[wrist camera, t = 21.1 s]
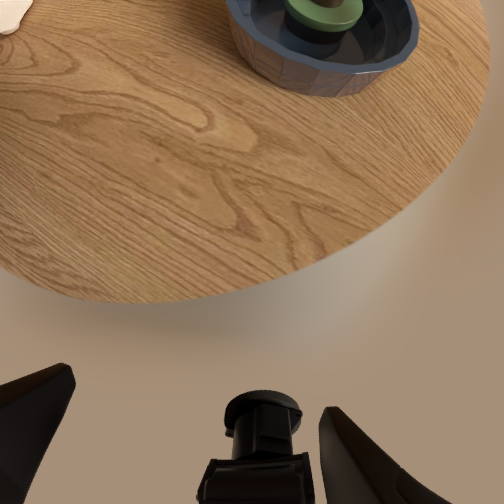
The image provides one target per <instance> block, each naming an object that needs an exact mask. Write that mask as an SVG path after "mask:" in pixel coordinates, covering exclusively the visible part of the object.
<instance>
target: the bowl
mask: <svg viewBox="0 0 504 504" xmlns="http://www.w3.org/2000/svg"><path fill="white" fill-rule="evenodd" d="M224 1H225V5H226V10H227V14H228V19H229V24H230V28H231V33H232V36H233V39H234V41H235V44H236V46H237V49H238V51H239V53H240V54H241V55H242V57H243V58H244V59H245V60H246V61H247V62H248V63H249V64H250V66H251V67H252V68H253V69H254V70H255V71H256V72H258V73H259V74H261V75H263V76H264V77H266V78H267V79H269V80H271V81H272V82H274V83H275V84H277V85H279V86H281V87H284V88H287V89H290V90H293V91H295V92H298V93H301V94H304V95H312V96H323V97H340V96H345V95H352V94H357V93H360V92H361V91H363V90H365V89H367V88H369V87H371V86H372V85H374V84H376V83H377V82H379V81H380V80H381V79H382V78H384V77H385V76H386V75H388V74H389V73H390V72H392V71H393V70H394V69H396V68H397V67H398V66H400V65H401V64H402V63H404V62H405V61H406V60H407V58H408V57H409V56H410V54H411V53H412V52H413V50H414V49H415V48H416V46H417V42H418V35H419V28H420V27H419V22H418V18H417V15H416V11H415V8H414V5H413V4H412V2H411V0H362V3H363V12H362V14H361V16H360V17H359V19H358V20H357V22H356V23H355V25H354V26H352V27H351V28H349V29H348V31H347V32H346V34H345V36H344V37H343V38H342V39H341V40H339V41H337V42H335V43H332V44H314V43H310V42H307V41H305V40H303V39H300V38H299V37H297V36H296V35H295V34H293V33H292V32H291V31H290V30H289V28H288V27H287V25H286V23H285V20H284V14H285V5H284V0H224Z"/></svg>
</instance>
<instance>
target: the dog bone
mask: <svg viewBox="0 0 504 504" xmlns="http://www.w3.org/2000/svg"><path fill="white" fill-rule="evenodd" d="M32 3H33V0H0V33H1V34H4V35H7V34H11V33H13V32H15V31H16V30H17V29H18V28H19V26H20V23H19V22H20V21H21V19H22V17H23V16H24V14H25V12H26V11H27V10H28V9H29V8H30V6H31V5H32Z"/></svg>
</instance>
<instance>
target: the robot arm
mask: <svg viewBox="0 0 504 504" xmlns="http://www.w3.org/2000/svg"><path fill="white" fill-rule="evenodd" d="M75 387H76V382H75V378H74V375H73V372H72V369H71V367H70V366H69V365H67V364H64V363H58V364H56V365H53V366H51V367H48V368H45V369H43V370H40V371H38V372H35V373H32V374H30V375H27V376H24V377H22V378H19V379H17V380H14V381H11V382H8V383H6V384H3V385H0V504H23V503H24V501H25V498H26V496H27V493H28V490H29V488H30V486H31V483H32V481H33V478H34V476H35V474H36V472H37V469H38V467H39V465H40V463H41V461H42V459H43V456H44V454H45V452H46V450H47V448H48V446H49V444H50V442H51V440H52V438H53V436H54V434H55V432H56V430H57V428H58V426H59V425H60V423H61V421H62V418H63V416H64V414H65V412H66V409H67V406H68V404H69V402H70V399H71V397H72V394H73V392H74V390H75ZM302 416H303V412H302V410H299V409H293V408H288V407H283V406H278V405H273V404H268V403H264V402H259V401H255V400H251V399H247V398H244V399H241V401H240V403H239V405H238V407H237V409H236V411H235V413H234V415H233V417H232V419H231V421H230V423H229V425H228V427H227V429H226V432H225V435H226V436H227V437H231V438H234V439H233V449H232V458H231V460H217V459H211V460H210V463H209V465H208V466H207V469H206V471H205V473H204V476H203V478H202V481H201V483H200V486H199V489H198V494H197V495H196V500H197V501H198V502H199V504H315V494H314V486H313V479H312V473H311V466H310V461H309V455H308V452H304V453H302V454H296V455H293V447H292V436H291V431H292V430H293V429H294V427H295V426H296V425H297V423H298V422H299V420H300V419H301V417H302ZM319 443H320V463H321V470H322V476H323V482H324V487H325V493H326V499H327V504H451V503H450V502H448V501H447V500H445V499H443V498H442V497H440V496H438V495H437V494H436V493H434V492H432V491H431V490H429V489H428V488H426V487H425V486H424V485H422V484H421V483H419V482H418V481H417V480H416V479H414V478H413V477H412V476H411V475H410V474H408V473H407V472H406V471H405V470H404V469H403V468H400V465H398V464H397V463H396V462H395V461H394V460H393V459H392V458H391V457H390V456H389V455H387V454H386V453H385V452H384V451H383V450H382V449H381V448H380V447H379V446H378V445H377V444H376V443H374V441H373V440H372V439H371V438H370V437H368V436H367V435H366V434H365V433H364V432H363V431H362V430H361V429H360V428H359V427H358V426H357V425H356V424H355V423H354V422H353V421H352V420H351V419H350V418H349V417H348V416H347V415H346V414H345V413H344V412H343V411H342V410H341V409H340V408H339V407H336V406H335V407H326V408H325V409H324V412H323V414H322V417H321V419H320V422H319Z"/></svg>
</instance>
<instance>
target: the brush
mask: <svg viewBox="0 0 504 504" xmlns="http://www.w3.org/2000/svg"><path fill="white" fill-rule="evenodd" d="M284 5H285V14H284V20H285V23H286V25H287V27H288V28H289V30H290V31H291V32H292V33H293V34H295V35H296V36H297V37H299V38H300V39H303V40H305V41H307V42H310V43H314V44H332V43H335V42H337V41H339V40H341V39H342V38H343V37H344V36H345V34H346V32H347V31H348V29H349V28H351V27H352V26H354V25H355V23H356V22H357V20H358V19H359V17H360V16H361V14H362V12H363V3H362V0H284Z"/></svg>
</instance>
